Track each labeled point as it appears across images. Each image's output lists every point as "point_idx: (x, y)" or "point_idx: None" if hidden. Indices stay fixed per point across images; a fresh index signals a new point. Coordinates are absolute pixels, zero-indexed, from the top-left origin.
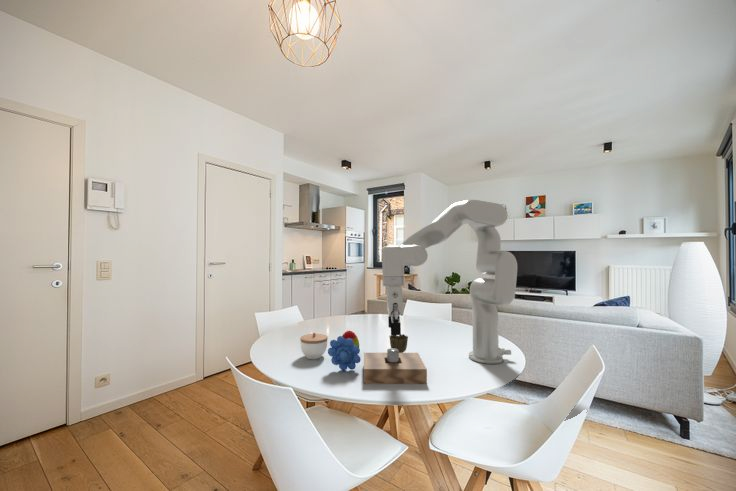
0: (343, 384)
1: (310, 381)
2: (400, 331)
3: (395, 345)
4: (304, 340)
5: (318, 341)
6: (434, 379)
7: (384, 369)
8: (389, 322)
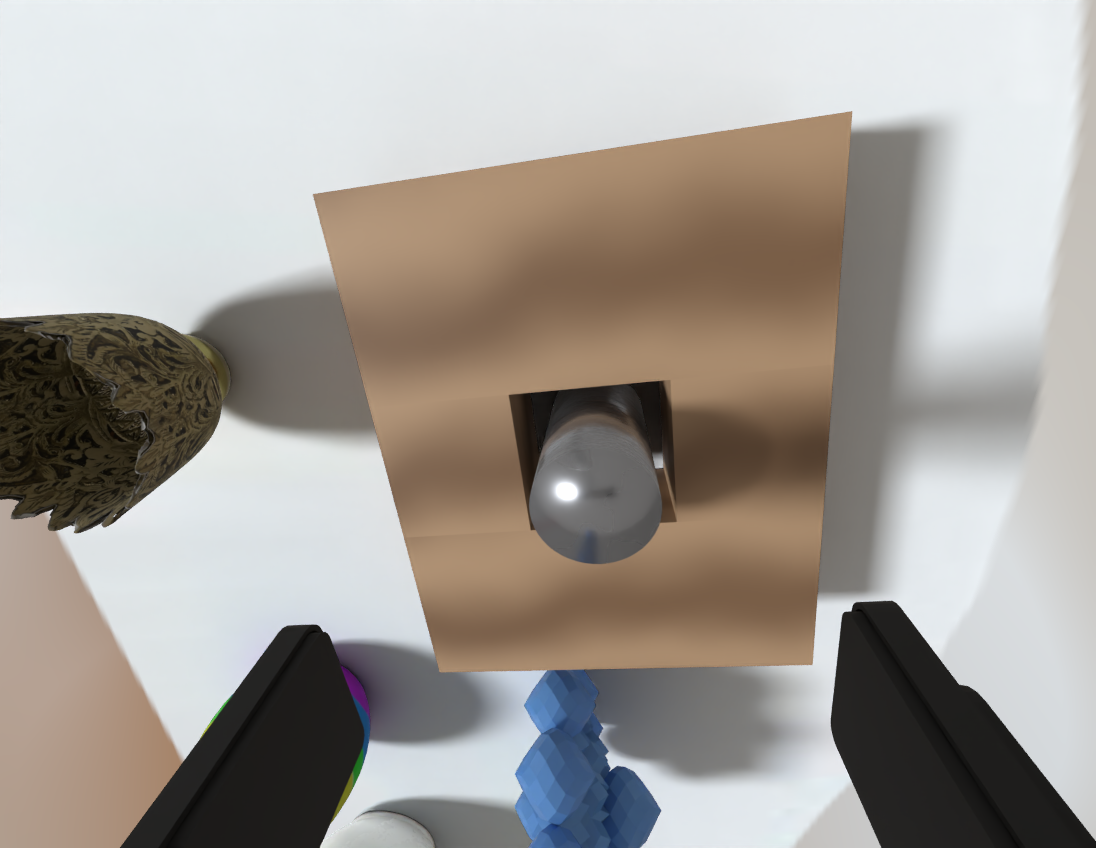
0: (785, 687)
1: (741, 818)
2: (927, 649)
3: (191, 438)
4: None
5: None
6: (699, 44)
7: (819, 527)
8: (319, 827)
